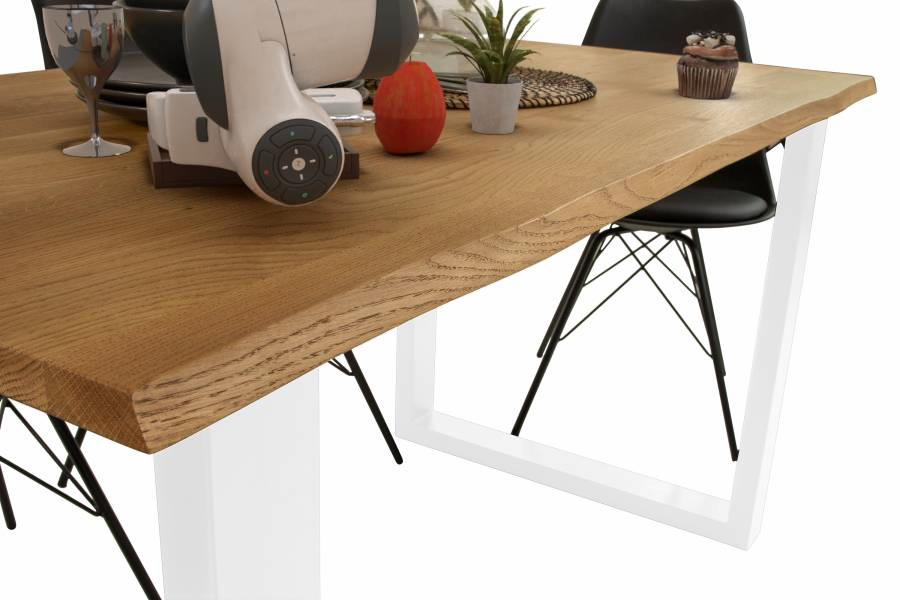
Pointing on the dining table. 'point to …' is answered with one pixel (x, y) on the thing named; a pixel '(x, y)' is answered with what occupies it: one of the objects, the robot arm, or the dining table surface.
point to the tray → (217, 170)
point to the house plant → (493, 71)
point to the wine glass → (87, 59)
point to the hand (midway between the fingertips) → (247, 99)
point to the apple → (409, 109)
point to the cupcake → (708, 66)
